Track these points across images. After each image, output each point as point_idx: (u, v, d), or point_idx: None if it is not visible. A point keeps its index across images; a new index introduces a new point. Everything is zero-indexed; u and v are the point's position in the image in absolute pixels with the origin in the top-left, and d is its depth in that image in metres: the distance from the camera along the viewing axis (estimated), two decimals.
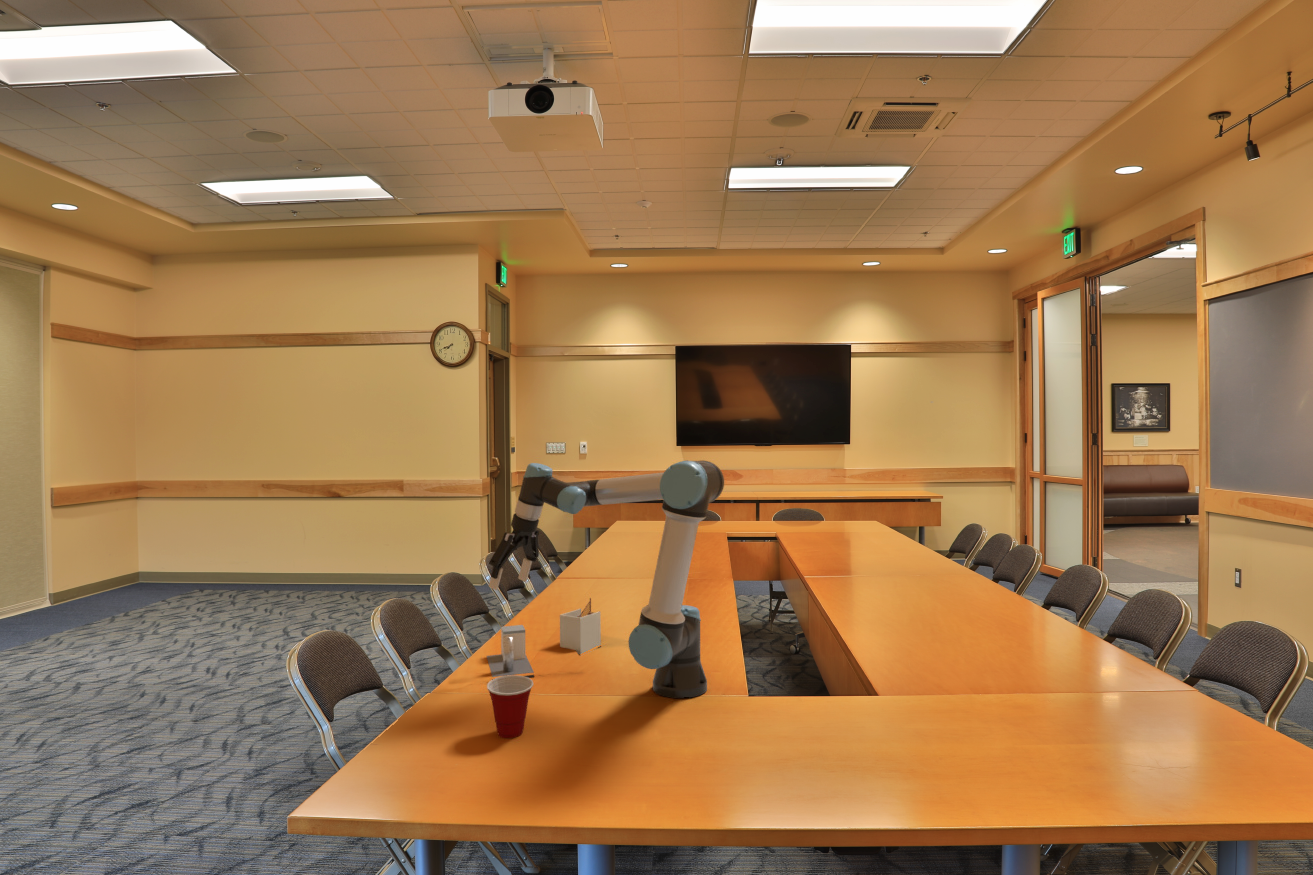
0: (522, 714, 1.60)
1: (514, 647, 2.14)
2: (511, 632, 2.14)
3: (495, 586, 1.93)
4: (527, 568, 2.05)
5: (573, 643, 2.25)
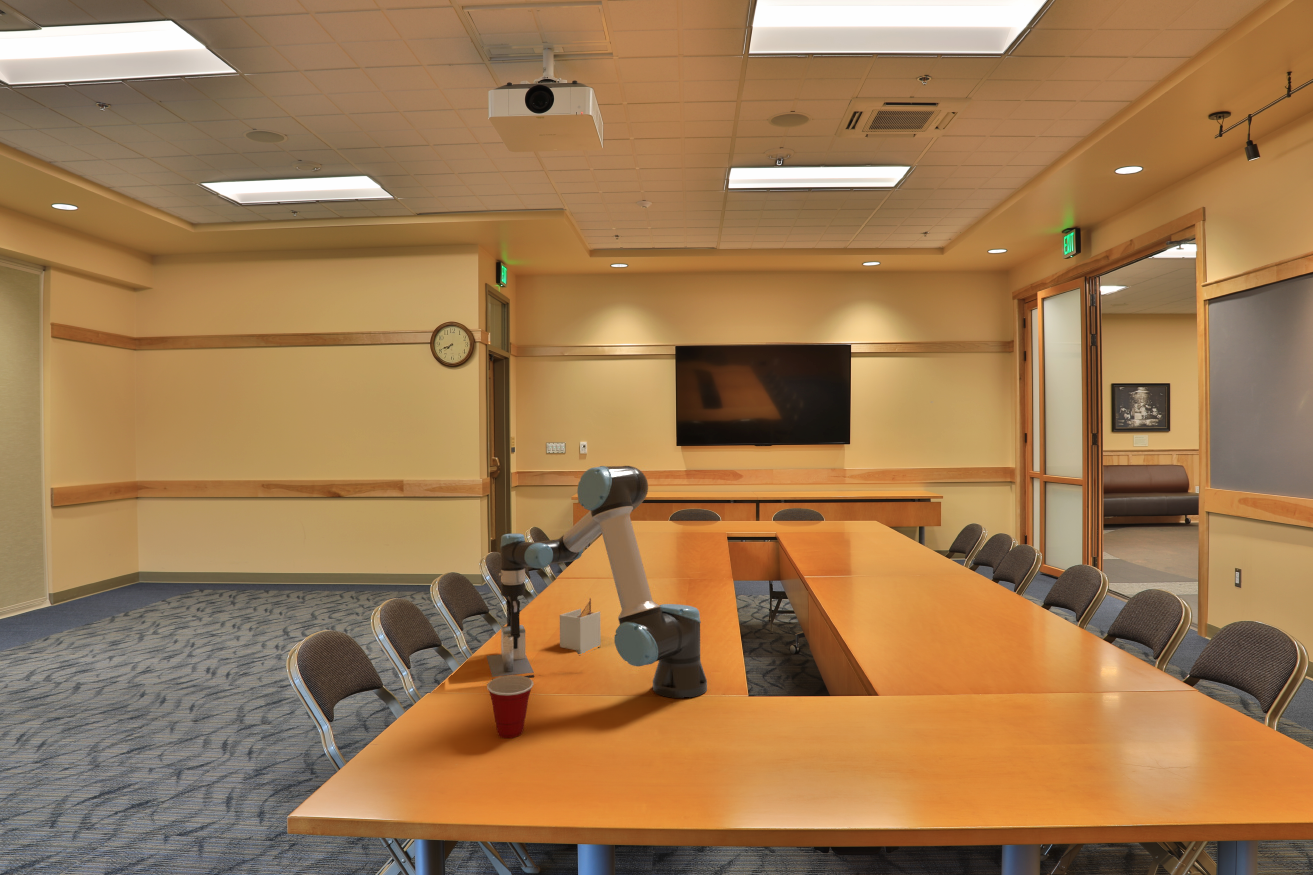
0: (522, 714, 1.60)
1: None
2: None
3: (517, 655, 2.14)
4: None
5: (573, 643, 2.25)
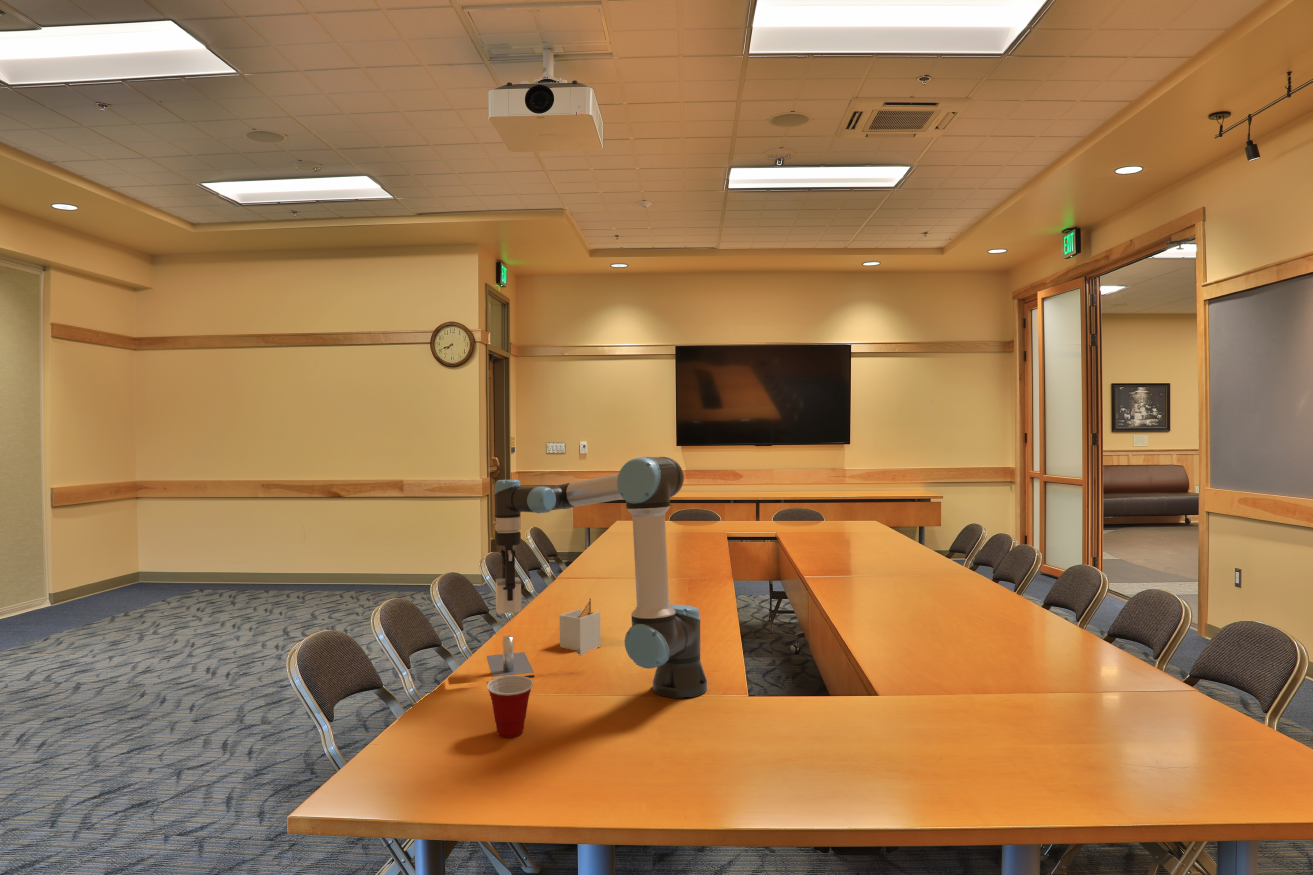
0: (522, 714, 1.60)
1: None
2: None
3: (513, 608, 2.00)
4: None
5: (573, 643, 2.25)
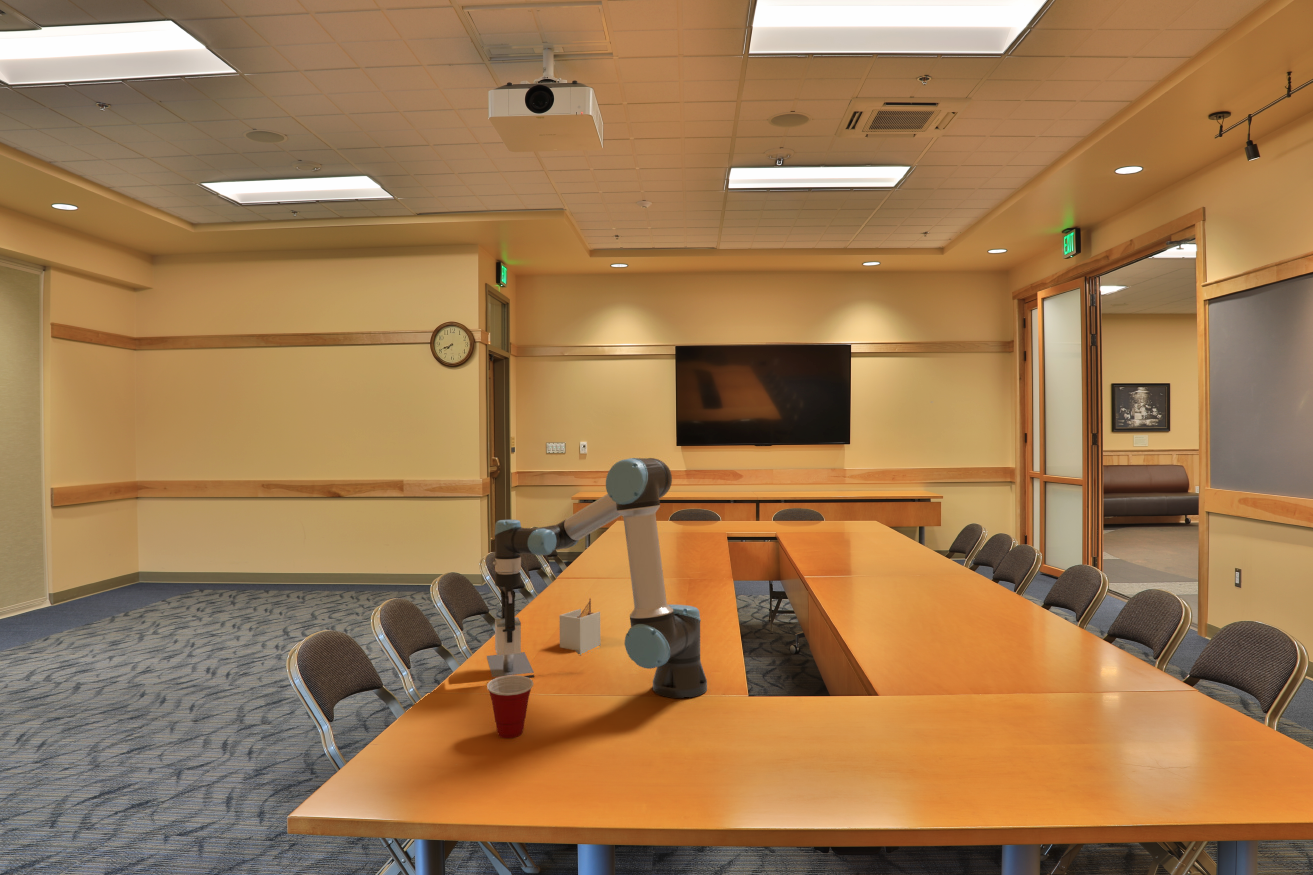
0: (522, 714, 1.60)
1: None
2: None
3: (512, 649, 2.00)
4: None
5: (573, 644, 2.25)
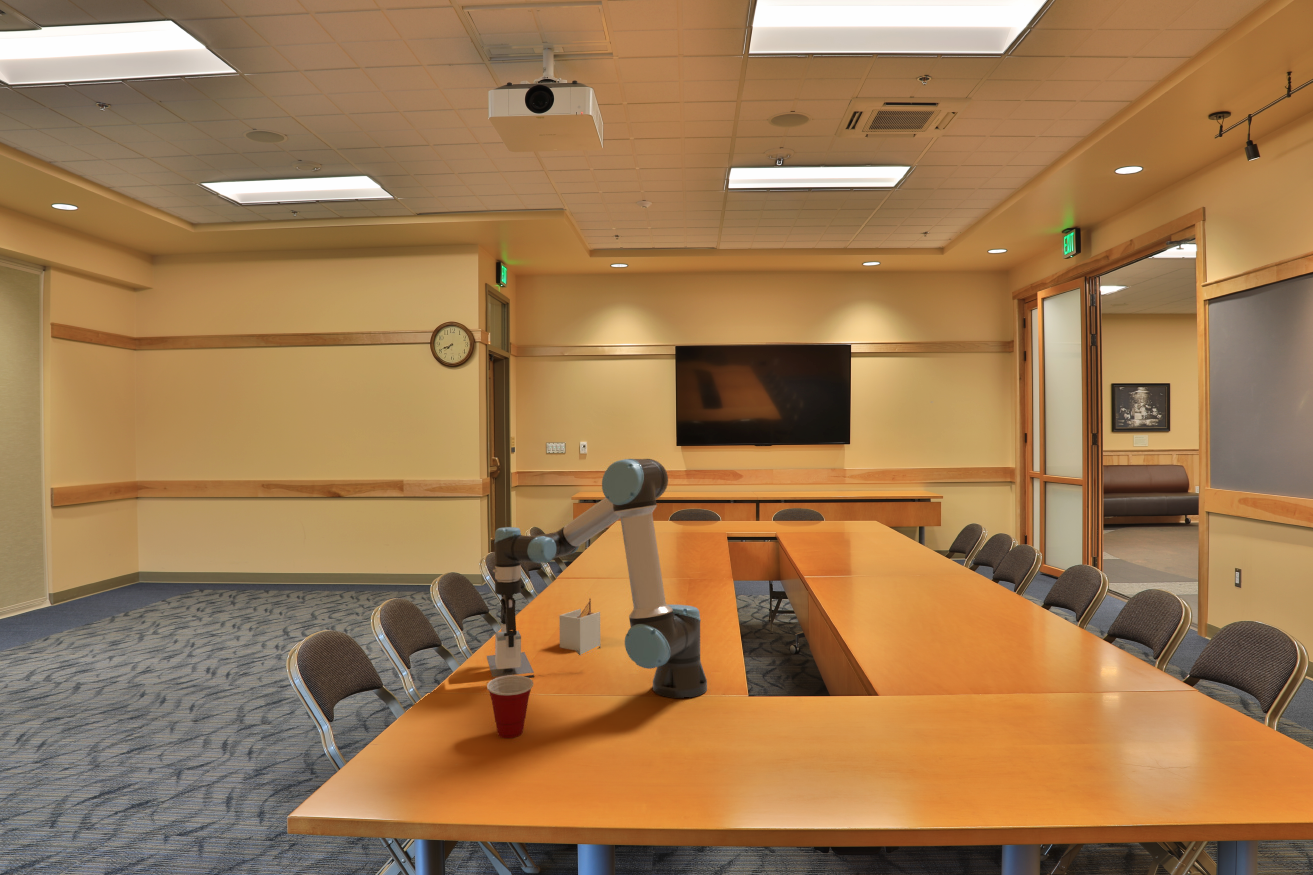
0: (522, 714, 1.60)
1: None
2: None
3: (514, 654, 1.97)
4: None
5: (573, 644, 2.25)
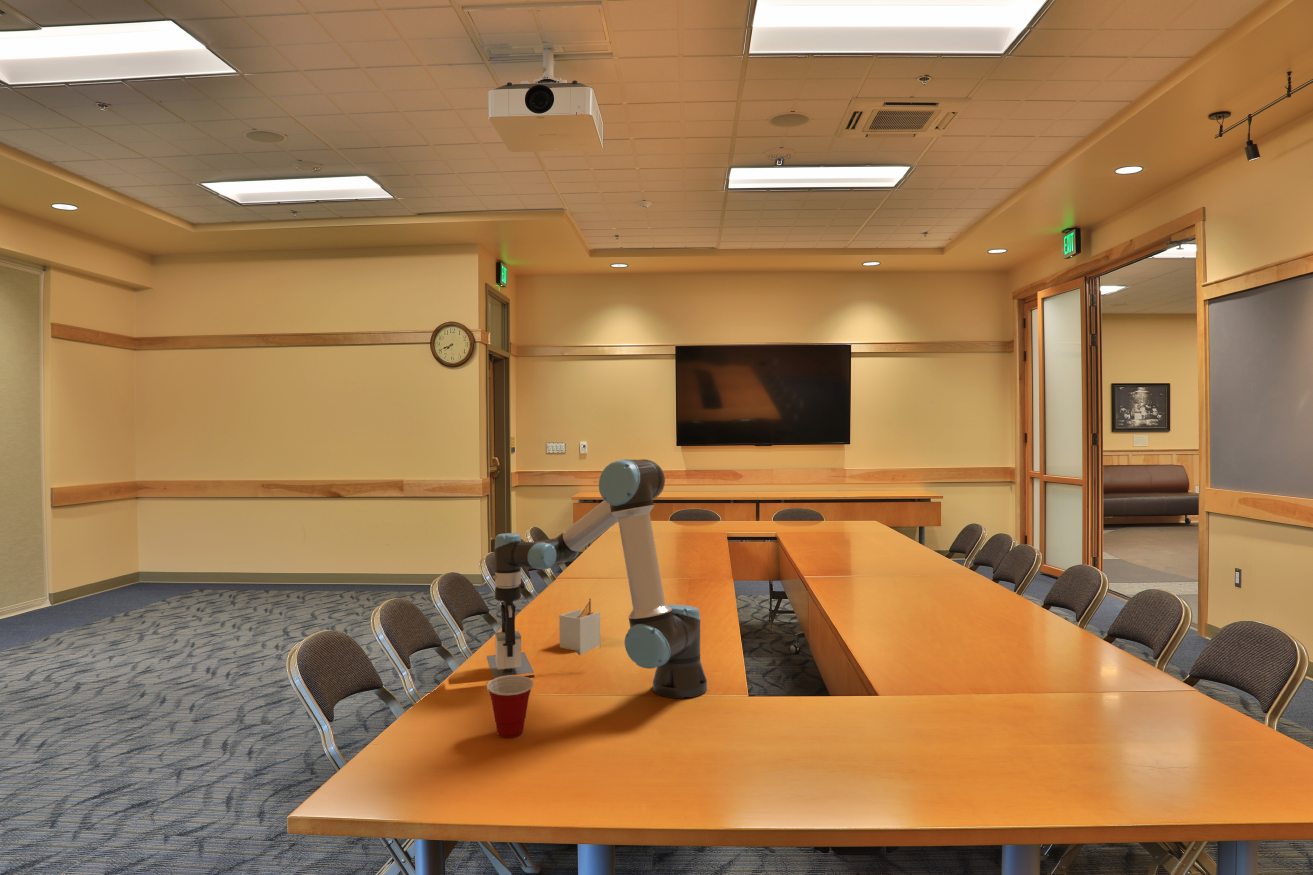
0: (522, 714, 1.60)
1: None
2: None
3: (513, 663, 2.00)
4: None
5: (572, 644, 2.25)
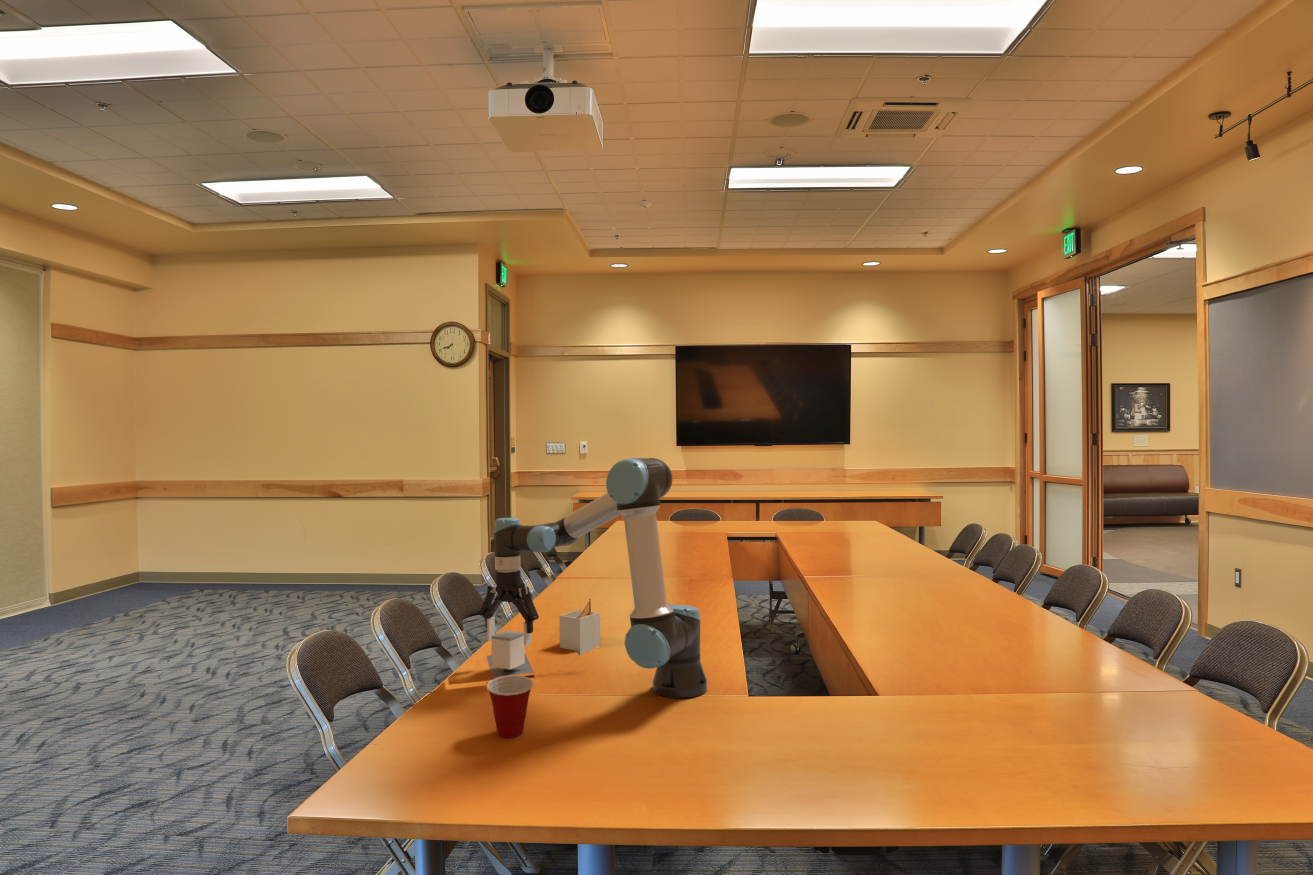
0: (522, 714, 1.60)
1: (517, 653, 2.02)
2: (515, 637, 2.01)
3: (530, 640, 2.01)
4: (493, 625, 2.07)
5: (572, 644, 2.24)
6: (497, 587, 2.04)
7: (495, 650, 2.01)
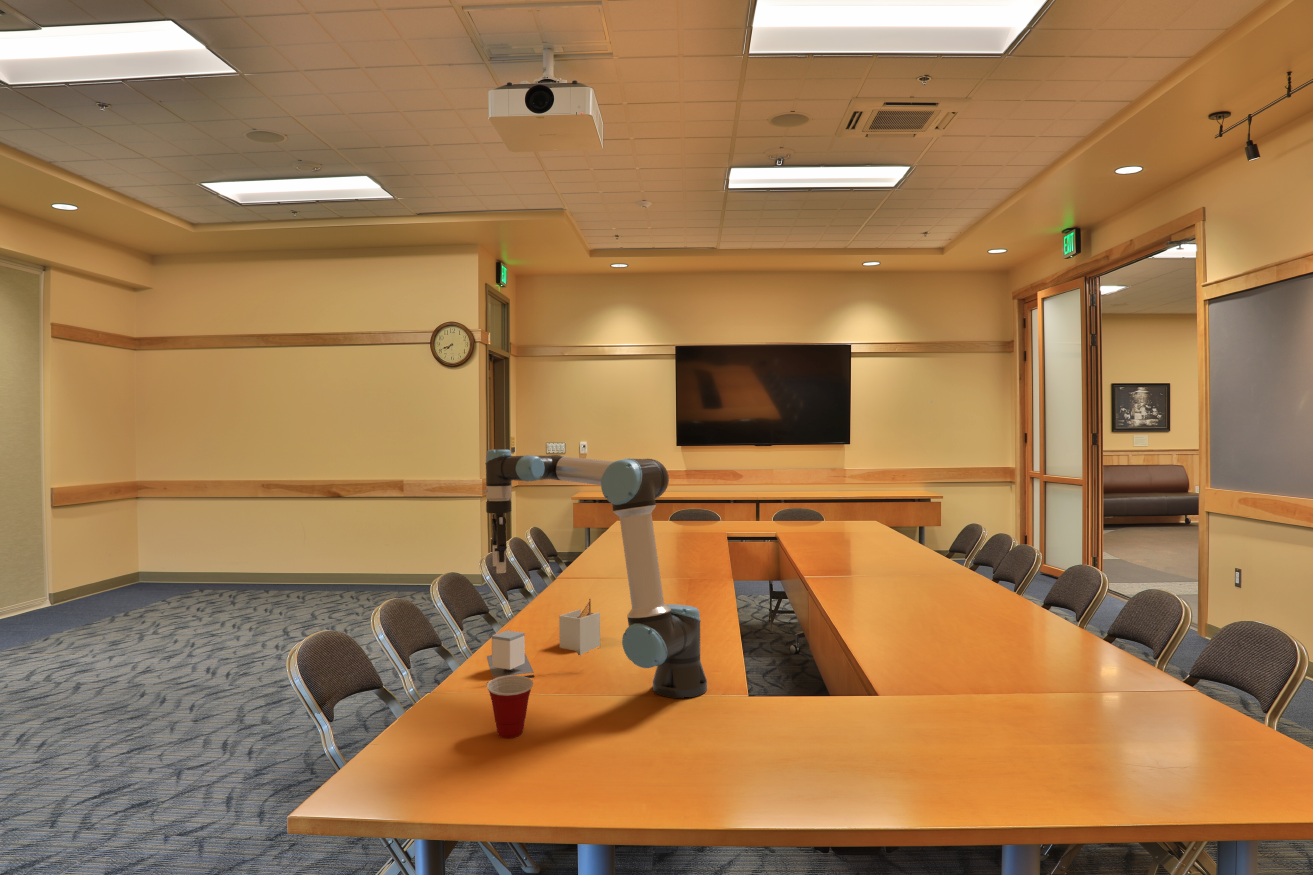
0: (522, 714, 1.60)
1: (517, 653, 2.02)
2: (515, 637, 2.01)
3: (504, 569, 2.03)
4: None
5: (572, 644, 2.24)
6: (494, 515, 2.12)
7: (495, 650, 2.01)
